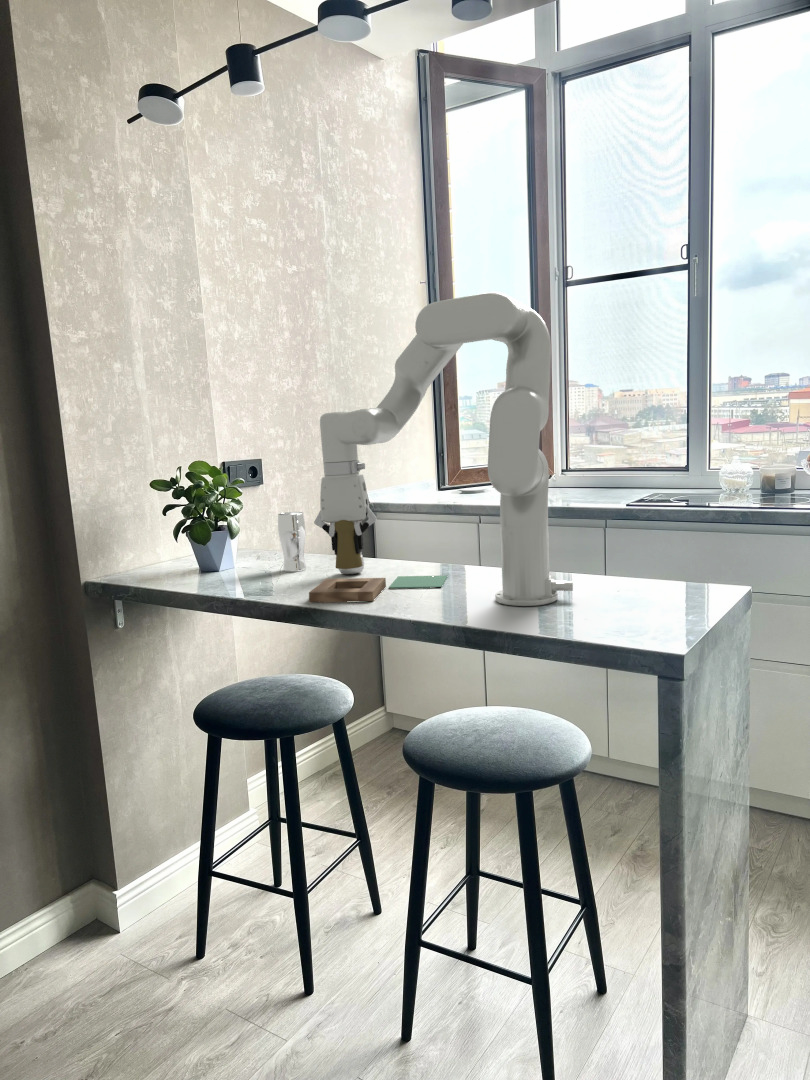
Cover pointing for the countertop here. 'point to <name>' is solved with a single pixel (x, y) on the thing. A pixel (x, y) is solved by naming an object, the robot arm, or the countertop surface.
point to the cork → (346, 546)
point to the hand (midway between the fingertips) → (348, 552)
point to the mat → (418, 581)
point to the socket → (347, 590)
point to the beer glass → (292, 540)
